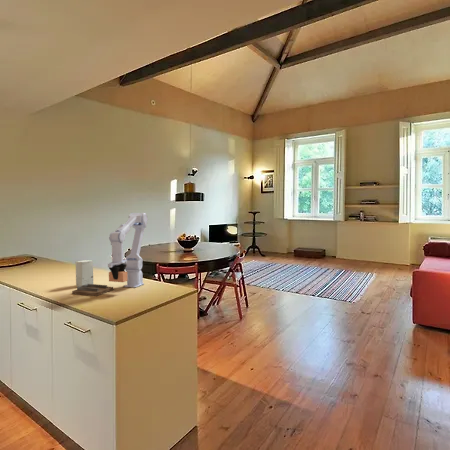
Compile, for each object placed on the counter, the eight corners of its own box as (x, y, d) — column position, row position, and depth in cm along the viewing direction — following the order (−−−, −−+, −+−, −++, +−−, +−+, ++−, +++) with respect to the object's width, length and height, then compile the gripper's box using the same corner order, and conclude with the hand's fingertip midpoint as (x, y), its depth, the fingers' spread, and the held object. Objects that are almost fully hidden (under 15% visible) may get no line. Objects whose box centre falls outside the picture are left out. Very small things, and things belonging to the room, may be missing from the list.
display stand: (90, 287, 193) (89, 282, 193) (113, 289, 188) (113, 284, 188) (72, 293, 180) (72, 288, 179) (96, 296, 175) (96, 290, 175)
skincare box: (82, 287, 194) (81, 262, 193) (75, 286, 197) (74, 261, 196) (94, 284, 201) (93, 260, 200) (87, 283, 204) (86, 259, 203)
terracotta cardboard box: (113, 279, 184) (113, 270, 184) (127, 280, 181) (127, 271, 181) (108, 281, 180) (108, 272, 180) (123, 282, 178) (122, 273, 177)
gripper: (115, 255, 172) (116, 281, 173) (131, 252, 186) (132, 276, 187) (104, 255, 174) (104, 280, 175) (120, 251, 188) (121, 275, 189)
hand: (118, 278), depth 181 cm, fingers closed on terracotta cardboard box, 4 cm apart
